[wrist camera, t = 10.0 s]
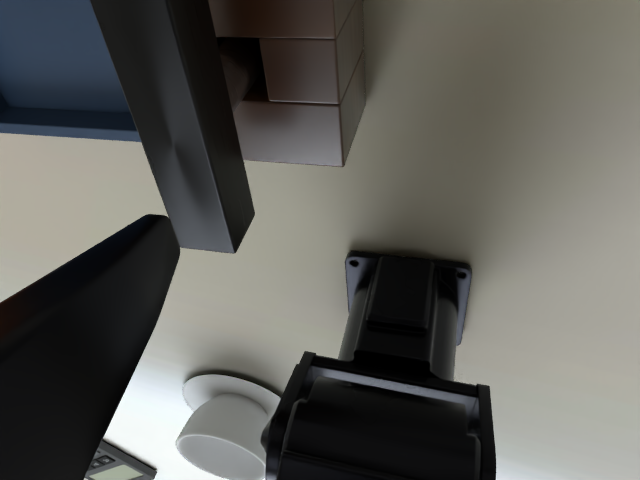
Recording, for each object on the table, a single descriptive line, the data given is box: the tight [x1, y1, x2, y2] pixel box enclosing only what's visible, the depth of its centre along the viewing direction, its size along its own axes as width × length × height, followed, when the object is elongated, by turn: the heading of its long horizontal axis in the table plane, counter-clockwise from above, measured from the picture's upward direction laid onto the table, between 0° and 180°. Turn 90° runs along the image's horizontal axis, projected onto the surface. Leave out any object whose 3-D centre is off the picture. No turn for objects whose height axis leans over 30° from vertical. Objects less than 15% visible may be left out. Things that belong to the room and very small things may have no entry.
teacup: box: [176, 375, 281, 480], centre depth 42 cm, size 10×10×5 cm
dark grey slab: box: [90, 0, 264, 253], centre depth 18 cm, size 8×2×9 cm, turn 5°
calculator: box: [85, 441, 157, 480], centre depth 60 cm, size 12×1×15 cm
